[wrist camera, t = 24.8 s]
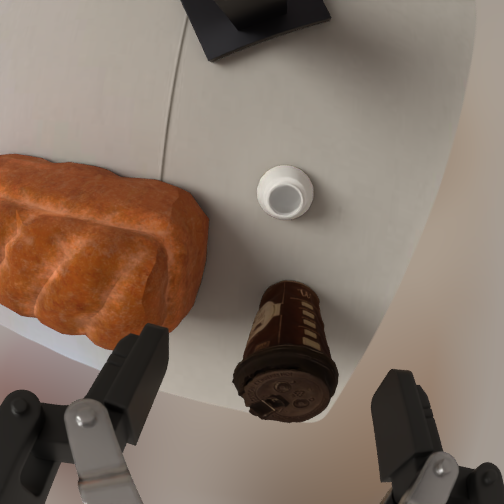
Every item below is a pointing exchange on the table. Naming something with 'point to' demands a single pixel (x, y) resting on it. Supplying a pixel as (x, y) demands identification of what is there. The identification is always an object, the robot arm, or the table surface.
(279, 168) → the white jar
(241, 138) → the table surface
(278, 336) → the coffee cup
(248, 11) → the bracket
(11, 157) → the bread
